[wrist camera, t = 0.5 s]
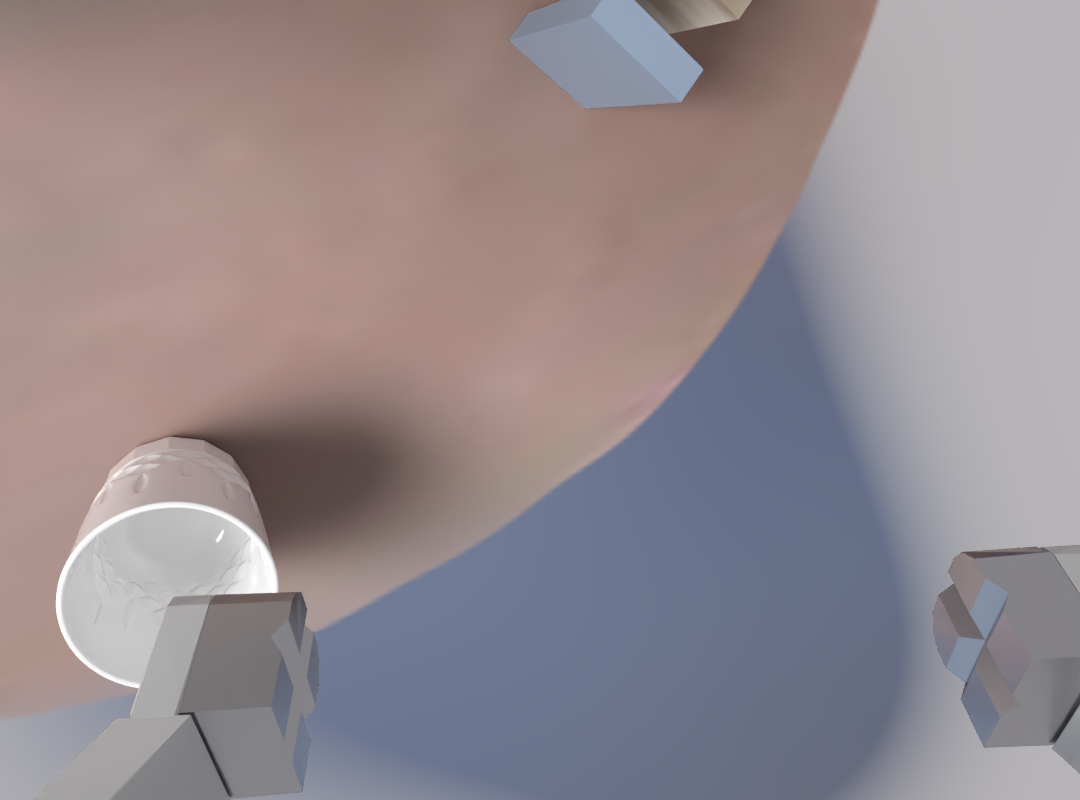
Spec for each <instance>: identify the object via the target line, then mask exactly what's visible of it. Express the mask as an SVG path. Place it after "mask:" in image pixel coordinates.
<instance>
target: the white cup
mask: <svg viewBox="0 0 1080 800" xmlns="http://www.w3.org/2000/svg"><path fill="white" fill-rule="evenodd" d="M251 593H279V582H278V574H277V569H276V566H275V562H274V559H273V555H272V552H271V548H270V545H269V541H268V537H267V534H266V530H265V526H264V523H263V520H262V517H261V514H260V512H259V509H258V505H257V503H256V500H255V498H254V496H253V494H252V491H251V489H250V485H249V481H248V479H247V478H246V476H245V475H244V473H243V472H242V471H241V469H240V468H239V466H238V465H237V463H236V462H235V460H234V459H233V457H232V456H231V455H229V454H227V453H226V452H224V451H222V450H220V449H219V448H217V447H215V446H213V445H212V444H210V443H208V442H206V441H204V440H199V439H189V438H179V437H167V438H163V439H160V440H157V441H154V442H150V443H147V444H144V445H141V446H137V447H136V448H134V449H133V450H132V451H131V452H130V453H129V454H128V455H126V456H125V457H124V458H123V459H122V460H121V461H120V462H118V463H117V464H116V465H115V466H114V467H113V468H112V469H111V470H110V473H109V475H108V478H107V480H106V483H105V485H104V486H103V487H102V489H101V490H100V492H99V493H98V494H97V496H96V498H95V500H94V502H93V504H92V506H91V508H90V510H89V512H88V514H87V516H86V518H85V519H84V521H83V523H82V526H81V528H80V531H79V533H78V536H77V539H76V541H75V543H74V546H73V548H72V550H71V552H70V555H69V557H68V559H67V562H66V564H65V566H64V568H63V571H62V573H61V576H60V579H59V583H58V587H57V594H56V611H57V618H58V622H59V626H60V629H61V631H62V634H63V636H64V638H65V640H66V642H67V643H68V645H69V647H70V648H71V649H72V651H73V652H74V653H75V654H76V656H77V657H78V658H79V659H80V660H81V661H82V662H83V663H84V664H86V665H87V666H88V667H89V668H91V669H92V670H93V671H95V672H96V673H98V674H100V675H102V676H103V677H105V678H107V679H110V680H112V681H114V682H117V683H120V684H123V685H127V686H131V687H135V688H139V686H140V683H141V680H142V677H143V674H144V671H145V668H146V665H147V662H148V659H149V656H150V653H151V650H152V647H153V644H154V641H155V637H156V634H157V631H158V628H159V625H160V622H161V619H162V616H163V613H164V610H165V608H166V607H167V606H168V604H169V603H170V602H171V600H172V599H173V597H179V596H200V595H220V594H251Z"/></svg>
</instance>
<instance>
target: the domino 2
mask: <svg viewBox="0 0 1080 800" xmlns="http://www.w3.org/2000/svg"><path fill="white" fill-rule="evenodd" d="M635 1H636V2H637V3H638V4H639V5H640V6H641V7H642V8H643V9H644V10H645V11H646V12H647V13H648V14H649V15H650V16H651V17H652V18H653V19H654V20H655V21H656V22H657V23H658V24H659V25H660V26H661V27H662V28H663V29H664V30H665V31H666V32H667V33H668V34H672V33H677V32H682V31H686V30H691V29H696V28H701V27H705V26H710V25H715V24H719V23H724V22H729V21H733V20H738V19H739V18H740V17H741V15H742V14H743V13H744V11H745V10H746V8H747V7H748V5H749V4H750V3H751V1H752V0H635Z"/></svg>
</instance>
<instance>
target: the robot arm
mask: <svg viewBox="0 0 1080 800" xmlns="http://www.w3.org/2000/svg"><path fill="white" fill-rule="evenodd" d="M948 573H949V575H950V577H951V579H952V581H953V583H954V584H952V585H951V586H950V587H948V588H947V589H946V590H945V591H943V592H942V593H940V594H939V595H938V598H937V601H936V604H935V607H934V610H933V635H934V638H935V642H936V646H937V650H938V652H939V654H940V656H941V658H942V661H943V663H944V665H945V667H946V668H947V669H948V670H949V671H951V672H952V673H953V674H955V675H956V676H957V677H959V678H960V679H961V680H963V681H964V682H965V686H964V689H963V693H962V697H961V701H962V703H963V705H964V707H965V709H966V711H967V713H968V715H969V717H970V720H971V722H972V724H973V726H974V728H975V730H976V732H977V734H978V736H979V738H980V740H981V742H982V744H983V746H984V748H989V747H1015V746H1041V745H1054V746H1053V748H1052V749H1053V750H1054V751H1055V752H1056V753H1057V754H1059V755H1060V756H1061V757H1062V758H1063V759H1064V760H1065V761H1066V762H1067V763H1069V764H1070V765H1071V766H1072V767H1073V768H1074V769H1075V770H1076V771H1077V772H1079V773H1080V545H1072V546H1054V547H1041V548H1038V547H1026V548H1011V549H997V550H983V551H969V552H961V553H960V554H959V555H957V556H956V557H955V558H954V559H953V561H952V564H951V566H950V568H949V570H948ZM306 613H307V607H306V604H305V601H304V598H303V595H302V592H282V593H251V594H220V595H200V596H179V597H173V599H172V600H171V602H170V603H169V604H168V606H167V607H166V608H165V610H164V613H163V616H162V619H161V622H160V625H159V628H158V631H157V634H156V637H155V641H154V644H153V647H152V650H151V653H150V656H149V659H148V662H147V665H146V668H145V671H144V674H143V677H142V680H141V683H140V686H139V689H138V692H137V695H136V698H135V701H134V704H133V707H132V710H131V713H130V716H129V718H122V719H116V720H115V721H114V722H113V723H112V724H111V725H110V726H108V727H107V728H106V729H105V731H103V732H102V733H101V734H100V735H99V736H98V737H97V738H96V739H95V740H94V741H93V742H92V743H91V744H90V745H89V746H88V747H87V748H86V749H85V750H84V751H83V752H82V753H81V754H80V755H78V756H77V758H76V759H74V760H73V762H72V763H70V764H69V765H68V766H67V767H66V768H65V769H64V770H63V771H62V772H61V773H60V774H59V775H58V776H57V777H56V778H55V779H54V780H53V781H52V782H51V783H50V784H49V785H48V786H46V788H44V789H43V790H42V791H41V792H40V793H39V794H38V795H37V796H36V797H35V798H34V799H33V800H230V799H234V798H244V797H255V796H267V795H277V794H288V793H299V792H303V786H304V780H305V773H306V767H307V761H308V754H309V748H310V741H311V740H310V737H309V733H308V731H307V727H306V724H305V721H304V720H305V718H306V717H307V716H308V715H309V714H310V713H311V712H312V711H313V709H314V708H315V707H316V702H317V694H318V687H319V657H318V649H317V642H316V639H315V635H314V632H313V631H311V630H310V629H308V628H307V627H306V626H305V619H306Z"/></svg>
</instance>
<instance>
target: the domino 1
mask: <svg viewBox="0 0 1080 800" xmlns="http://www.w3.org/2000/svg"><path fill="white" fill-rule="evenodd" d="M509 42H510V43H512V44H513V45H514V46H515V47H516V48H517V49H518V50H519V51H520V52H522V53H523V54H524V55H525V56H526V57H527V58H528V59H529V60H531V61H532V62H533V63H534V64H535V65H536V66H537V67H538V68H540V69H541V70H542V71H543V72H544V73H545V74H546V75H547V76H548V77H550V78H551V79H552V80H553V81H554V82H555V83H556V84H557V85H559V86H560V87H561V88H562V89H563V90H564V91H565V92H566V93H568V94H569V95H570V96H571V97H572V98H573V99H574V100H575V101H576V102H578V103H579V104H580V105H581V106H582V107H583V108H584V109H588V108H604V107H619V106H635V105H650V104H666V103H681V101H682V100H683V99H684V97H685V96H686V94H687V93H688V91H689V90H690V88H691V87H692V86H693V84H694V83H695V81H696V80H697V78H698V77H699V76H700V74H701V73H702V71H703V70H704V69H703V68H702V67H701V66H700V65H699V64H698V63H697V62H696V61H695V60H694V59H693V58H692V57H691V56H690V55H689V54H688V53H687V52H686V51H685V50H684V49H683V48H682V47H681V46H680V45H679V44H678V43H677V42H676V41H675V40H674V39H673V38H672V37H671V36H670V35H669V34H668V33H667V32H666V31H665V30H664V29H663V28H662V27H661V26H660V25H659V24H658V23H657V22H656V21H655V20H654V19H653V18H652V17H651V16H650V15H649V14H648V13H647V12H646V11H645V10H644V9H643V8H642V7H641V6H640V5H639V4H638V3H637V2H636V1H635V0H561V1H559V2H556V3H553V4H550V5H548V6H545V7H542V8H540V9H537V10H534V11H531V12H529V13H527V15H526V16H525V18H524V19H523V20H522V22H521V23H520V25H519V26H518V28H517V29H516V31H515V32H514V34H513V35H512V36H511V38H510V39H509Z"/></svg>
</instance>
